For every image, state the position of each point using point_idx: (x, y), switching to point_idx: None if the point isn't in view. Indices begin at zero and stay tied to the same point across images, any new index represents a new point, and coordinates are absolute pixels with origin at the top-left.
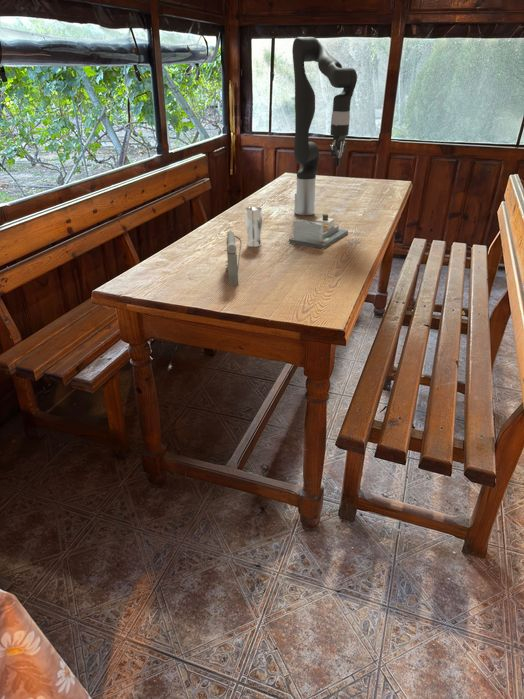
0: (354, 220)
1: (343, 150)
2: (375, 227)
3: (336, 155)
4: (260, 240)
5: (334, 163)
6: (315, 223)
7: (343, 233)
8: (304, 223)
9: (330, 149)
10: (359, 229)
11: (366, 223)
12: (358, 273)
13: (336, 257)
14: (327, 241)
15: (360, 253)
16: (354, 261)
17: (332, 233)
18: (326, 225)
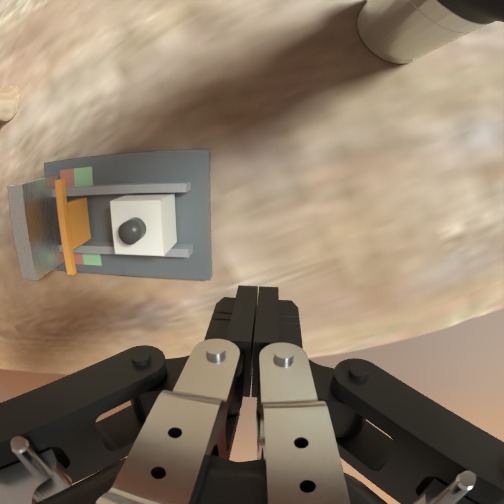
0: (384, 235)
1: (358, 467)
2: (326, 324)
3: (127, 416)
4: (2, 118)
5: (215, 314)
6: (22, 260)
7: (174, 278)
8: (14, 225)
9: (9, 407)
10: (281, 290)
11: (362, 285)
12: (26, 361)
13: (45, 311)
14: (82, 266)
15: (93, 349)
16: (54, 347)
17: None
18: (69, 271)
